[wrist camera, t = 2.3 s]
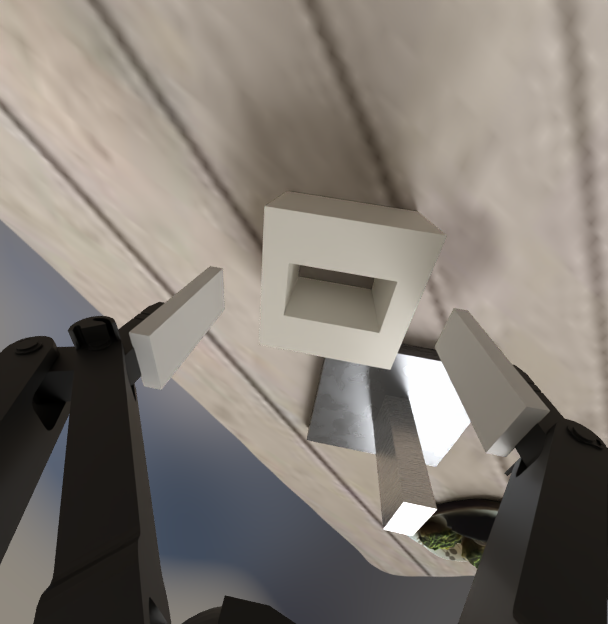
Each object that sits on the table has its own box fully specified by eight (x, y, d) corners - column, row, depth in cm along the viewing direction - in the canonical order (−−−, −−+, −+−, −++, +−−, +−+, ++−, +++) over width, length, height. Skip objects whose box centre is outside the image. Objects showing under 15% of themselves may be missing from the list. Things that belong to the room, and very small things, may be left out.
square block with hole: (287, 190, 18) (264, 206, 13) (418, 211, 17) (447, 235, 12) (278, 302, 23) (258, 344, 18) (380, 320, 22) (390, 369, 17)
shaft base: (330, 330, 24) (320, 437, 15) (498, 361, 23) (595, 494, 14) (308, 428, 32) (293, 535, 23) (432, 453, 31) (466, 575, 22)
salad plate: (568, 545, 38) (594, 590, 34) (451, 558, 46) (460, 595, 42) (512, 484, 32) (534, 530, 29) (388, 511, 40) (392, 549, 37)
